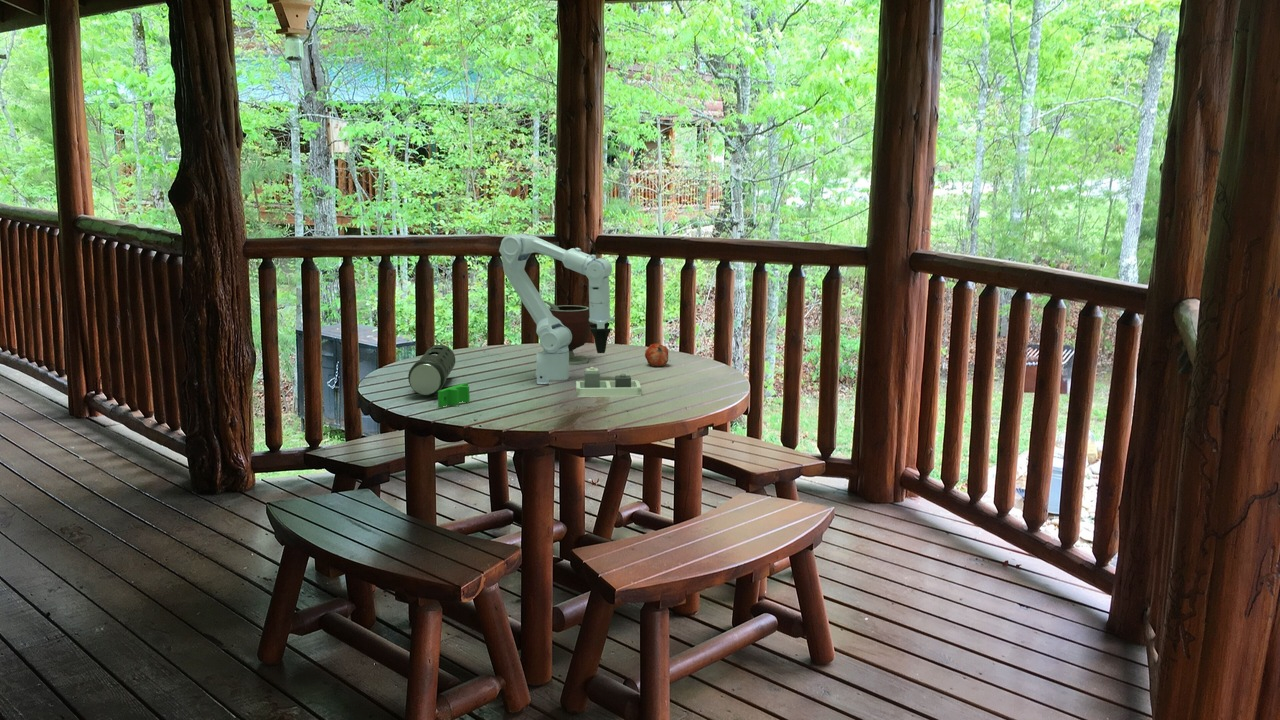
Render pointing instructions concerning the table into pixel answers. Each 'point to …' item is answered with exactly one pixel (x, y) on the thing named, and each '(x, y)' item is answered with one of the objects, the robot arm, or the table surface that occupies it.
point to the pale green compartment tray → (608, 389)
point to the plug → (622, 381)
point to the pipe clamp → (453, 395)
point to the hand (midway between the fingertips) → (600, 350)
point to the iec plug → (592, 378)
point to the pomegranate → (656, 355)
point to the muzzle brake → (431, 370)
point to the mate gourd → (574, 327)
